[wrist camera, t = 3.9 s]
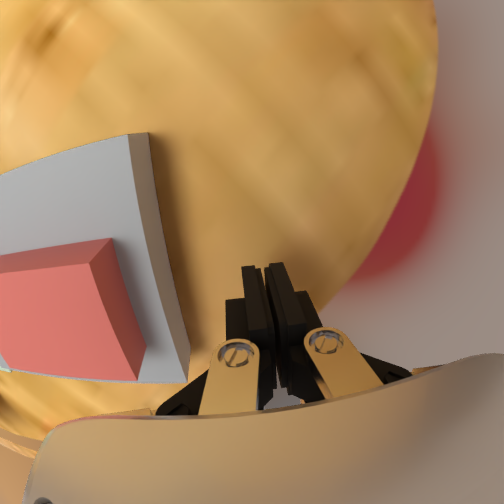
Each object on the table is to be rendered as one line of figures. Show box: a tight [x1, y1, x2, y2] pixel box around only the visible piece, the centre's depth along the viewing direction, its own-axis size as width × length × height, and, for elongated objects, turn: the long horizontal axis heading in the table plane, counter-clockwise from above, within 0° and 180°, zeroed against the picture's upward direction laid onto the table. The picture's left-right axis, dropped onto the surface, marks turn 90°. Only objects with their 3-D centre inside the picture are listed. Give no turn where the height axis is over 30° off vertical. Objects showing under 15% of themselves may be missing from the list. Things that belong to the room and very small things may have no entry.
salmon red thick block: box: [0, 237, 147, 381], centre depth 11 cm, size 6×9×2 cm, turn 94°
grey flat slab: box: [0, 133, 191, 383], centre depth 13 cm, size 13×16×3 cm
